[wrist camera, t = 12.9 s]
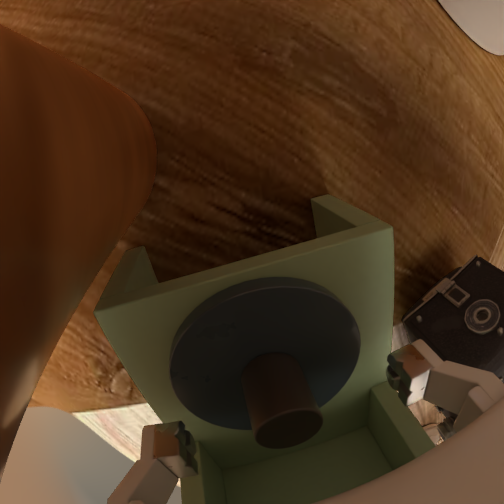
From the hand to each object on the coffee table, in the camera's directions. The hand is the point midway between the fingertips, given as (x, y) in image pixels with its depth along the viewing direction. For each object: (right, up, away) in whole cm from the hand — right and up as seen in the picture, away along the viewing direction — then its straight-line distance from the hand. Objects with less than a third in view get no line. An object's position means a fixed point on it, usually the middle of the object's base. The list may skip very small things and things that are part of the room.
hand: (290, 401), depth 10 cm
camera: (+15, -1, +13) cm, 20 cm away
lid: (-1, +1, +2) cm, 2 cm away
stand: (-11, +10, +4) cm, 15 cm away
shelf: (-1, 0, +9) cm, 9 cm away
